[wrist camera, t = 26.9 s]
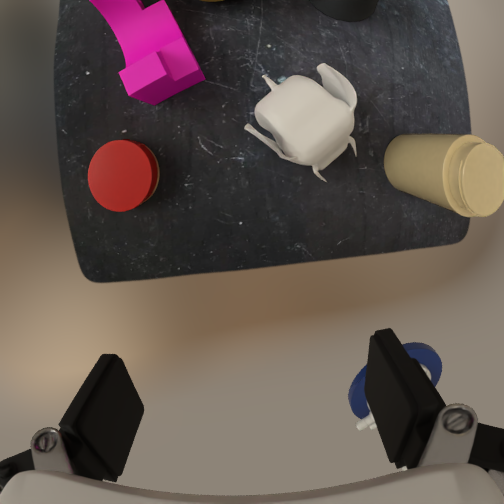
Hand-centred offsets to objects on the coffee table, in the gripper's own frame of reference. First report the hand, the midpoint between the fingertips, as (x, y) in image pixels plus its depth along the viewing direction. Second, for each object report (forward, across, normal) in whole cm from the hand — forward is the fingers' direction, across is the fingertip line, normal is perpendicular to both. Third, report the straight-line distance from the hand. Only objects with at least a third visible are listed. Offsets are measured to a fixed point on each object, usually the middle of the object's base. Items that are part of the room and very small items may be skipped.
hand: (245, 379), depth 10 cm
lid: (+22, +13, -8) cm, 26 cm away
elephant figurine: (+25, -6, -10) cm, 27 cm away
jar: (+25, -19, -5) cm, 32 cm away
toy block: (+24, +8, -23) cm, 34 cm away
